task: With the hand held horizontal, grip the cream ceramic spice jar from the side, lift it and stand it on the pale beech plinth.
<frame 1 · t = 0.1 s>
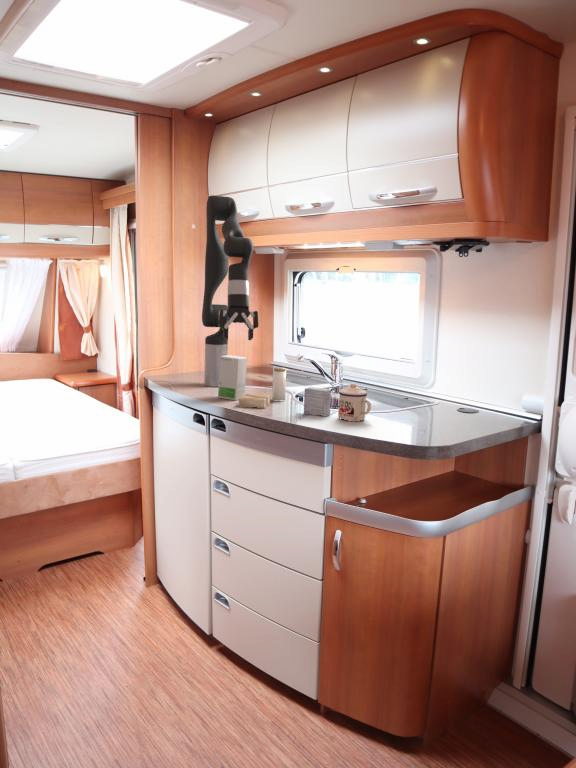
hand: (238, 340, 217), 22 cm above the countertop, tool pointing down, fingers open, 8 cm apart
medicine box: (316, 414, 205), on the countertop
spice jar: (278, 400, 227), on the countertop
skincare box: (231, 398, 227), on the countertop
teacup with lid: (354, 420, 199), on the countertop
plinth: (254, 405, 216), on the countertop
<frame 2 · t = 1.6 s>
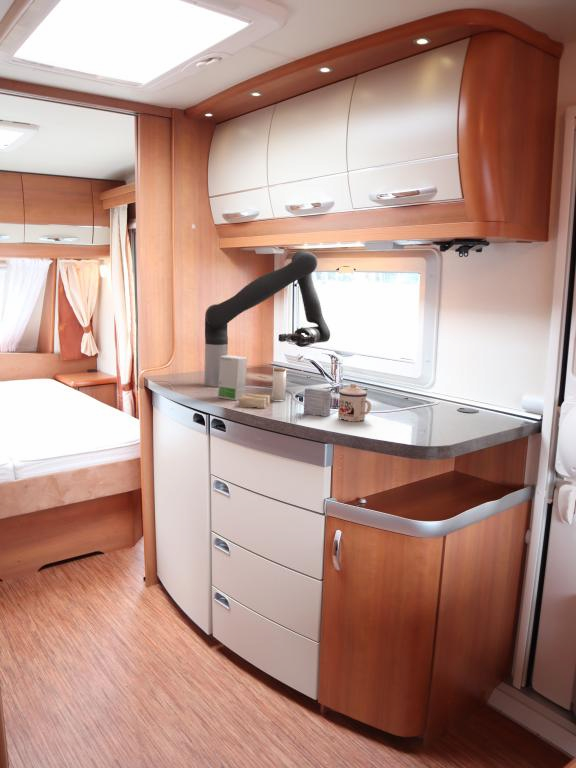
hand: (291, 339, 234), 22 cm above the countertop, tool horizontal, fingers open, 8 cm apart
nothing on the countertop moved.
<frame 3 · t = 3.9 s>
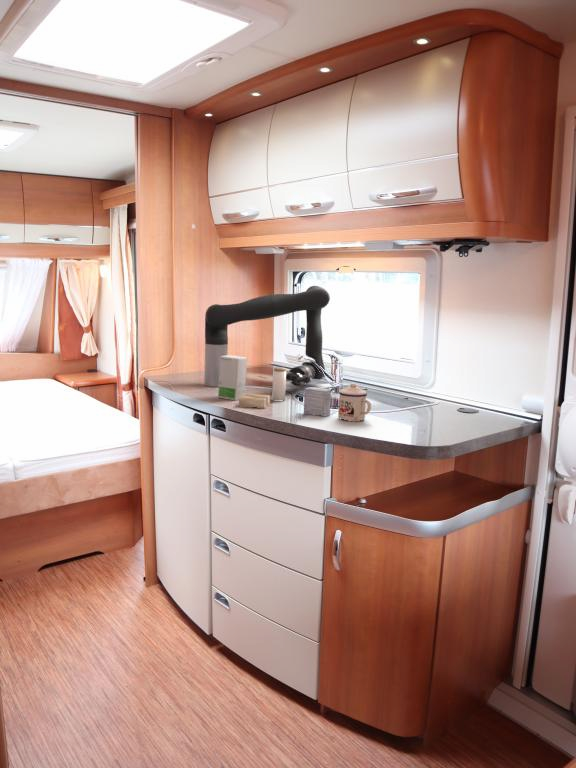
hand: (286, 380, 233), 7 cm above the countertop, tool horizontal, fingers open, 8 cm apart
nothing on the countertop moved.
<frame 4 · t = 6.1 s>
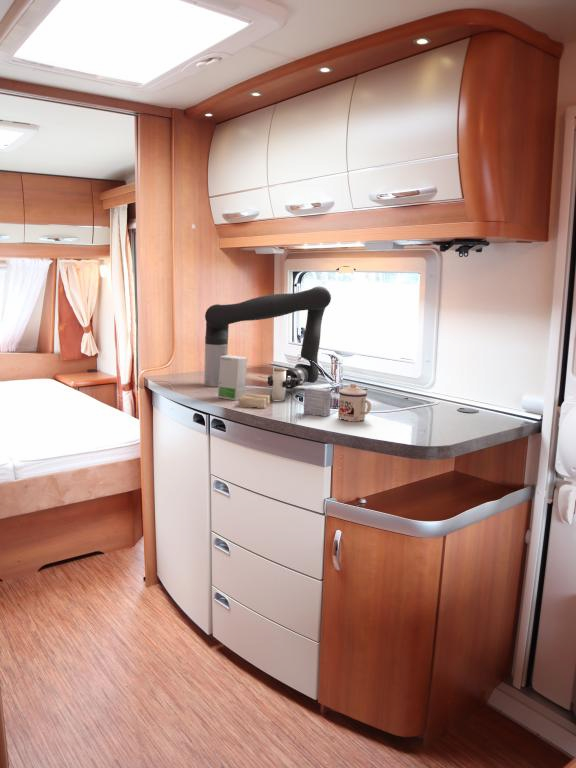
hand: (276, 383, 224), 7 cm above the countertop, tool horizontal, fingers closed on spice jar, 4 cm apart
spice jar: (278, 400, 227), on the countertop, touching gripper
everything else where it was.
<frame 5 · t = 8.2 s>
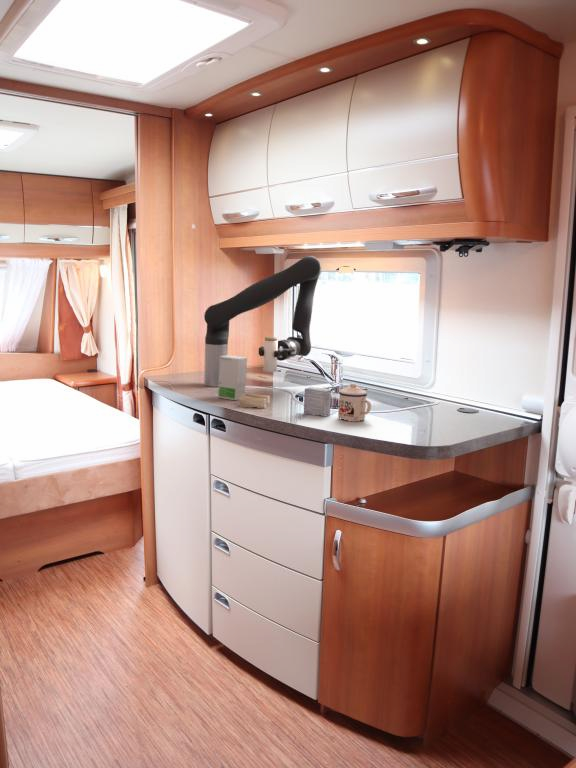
hand: (268, 353, 217), 18 cm above the countertop, tool horizontal, fingers closed on spice jar, 4 cm apart
spice jar: (270, 371, 220), point 11 cm above the countertop, touching gripper
everything else where it was.
when the fingers open (11 cm above the countertop, at t = 10.5 s): spice jar stays where it is, resting on plinth.
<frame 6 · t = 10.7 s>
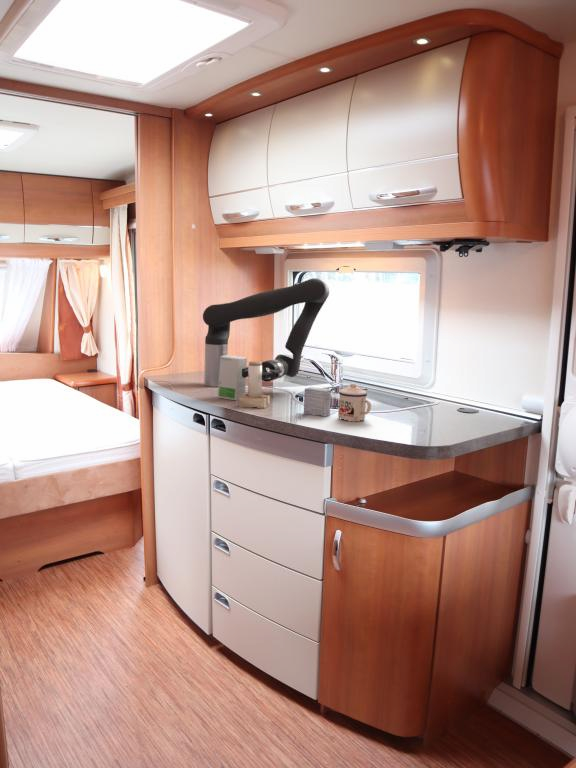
hand: (253, 375, 212), 11 cm above the countertop, tool horizontal, fingers open, 6 cm apart
spice jar: (255, 396, 215), point 3 cm above the countertop, touching plinth
everything else where it was.
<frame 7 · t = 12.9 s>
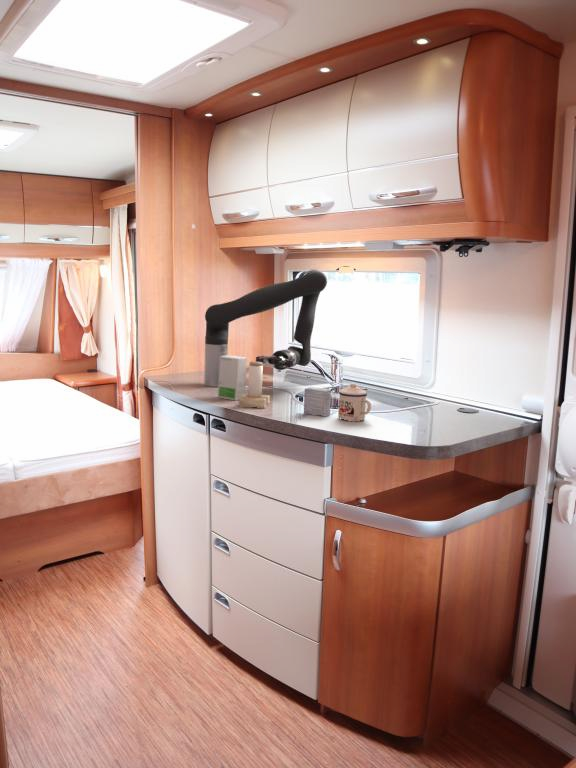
hand: (268, 363, 225), 14 cm above the countertop, tool horizontal, fingers open, 8 cm apart
nothing on the countertop moved.
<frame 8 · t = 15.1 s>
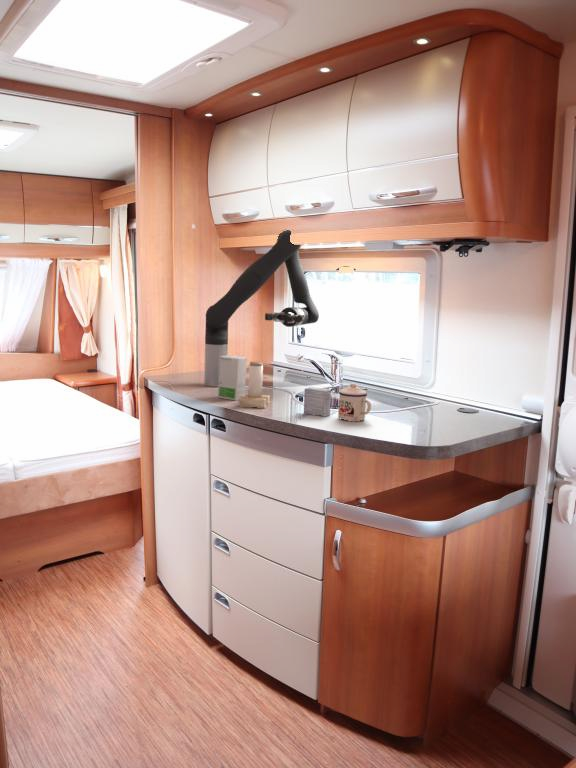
hand: (277, 318, 227), 30 cm above the countertop, tool horizontal, fingers open, 8 cm apart
nothing on the countertop moved.
at the end: spice jar inside the target area on the plinth (0.0 cm from its centre), point 3.2 cm above the plinth's base; spice jar tilted 1°; the gripper is holding nothing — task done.
